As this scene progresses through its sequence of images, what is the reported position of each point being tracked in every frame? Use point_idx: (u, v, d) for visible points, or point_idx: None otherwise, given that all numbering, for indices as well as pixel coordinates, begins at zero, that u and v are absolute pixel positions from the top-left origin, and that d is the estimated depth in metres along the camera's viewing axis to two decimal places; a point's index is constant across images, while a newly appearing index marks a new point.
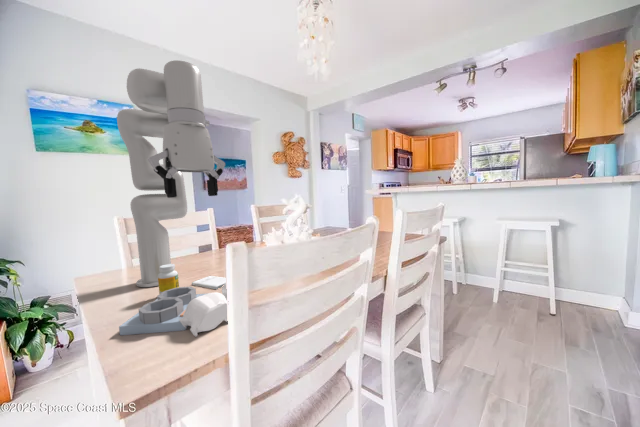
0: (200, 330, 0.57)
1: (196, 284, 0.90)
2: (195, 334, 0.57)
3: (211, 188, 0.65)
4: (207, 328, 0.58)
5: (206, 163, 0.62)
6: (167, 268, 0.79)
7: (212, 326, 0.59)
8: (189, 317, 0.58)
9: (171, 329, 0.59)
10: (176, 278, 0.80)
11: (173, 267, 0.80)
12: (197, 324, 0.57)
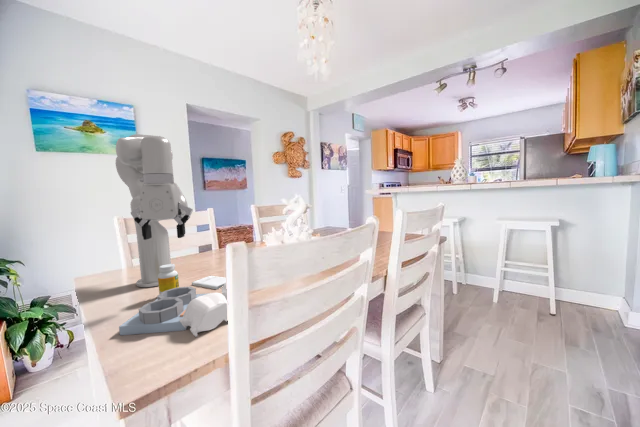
0: (200, 330, 0.57)
1: (196, 284, 0.90)
2: (195, 334, 0.57)
3: (149, 232, 0.80)
4: (207, 328, 0.58)
5: None
6: (167, 268, 0.79)
7: (212, 326, 0.59)
8: (189, 317, 0.58)
9: (171, 329, 0.59)
10: (176, 278, 0.80)
11: (173, 267, 0.80)
12: (197, 324, 0.57)
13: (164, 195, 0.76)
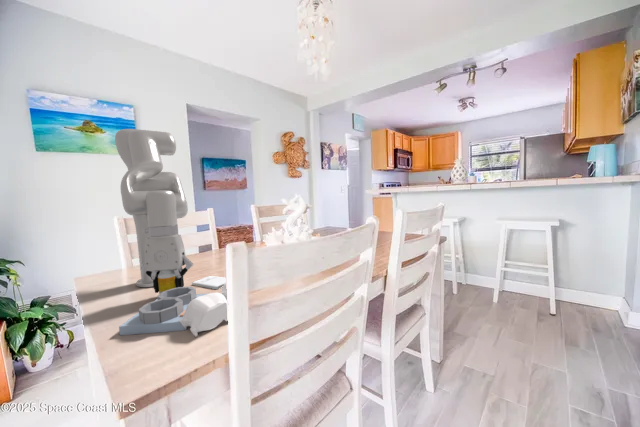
0: (200, 329, 0.57)
1: (196, 284, 0.90)
2: (195, 334, 0.57)
3: None
4: (207, 328, 0.58)
5: None
6: None
7: (212, 326, 0.59)
8: (189, 317, 0.58)
9: (171, 329, 0.59)
10: None
11: None
12: (197, 324, 0.57)
13: (169, 247, 0.77)
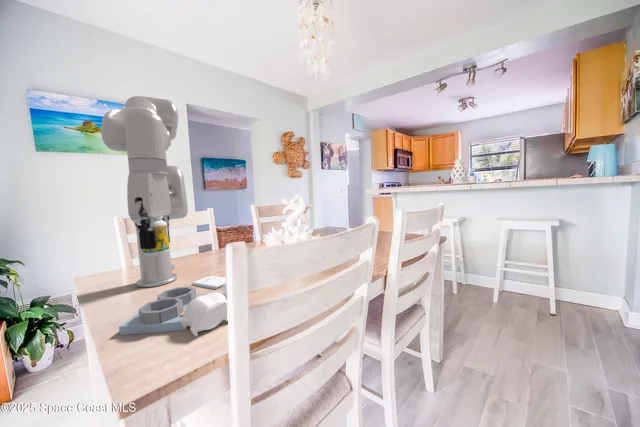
0: (200, 329, 0.57)
1: (196, 284, 0.90)
2: (195, 333, 0.57)
3: None
4: (207, 327, 0.58)
5: (167, 209, 0.65)
6: None
7: (212, 325, 0.59)
8: (189, 316, 0.58)
9: (171, 329, 0.59)
10: None
11: (146, 216, 0.60)
12: (197, 323, 0.57)
13: None
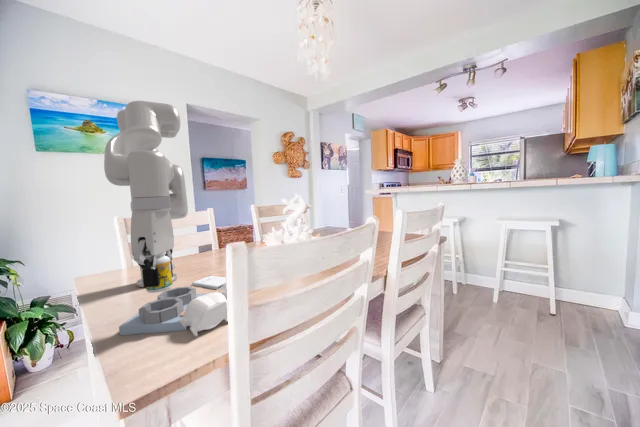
0: (200, 329, 0.57)
1: (196, 284, 0.90)
2: (195, 333, 0.57)
3: None
4: (207, 327, 0.58)
5: (170, 243, 0.65)
6: None
7: (212, 325, 0.59)
8: (189, 316, 0.58)
9: (171, 329, 0.59)
10: None
11: (149, 253, 0.60)
12: (197, 323, 0.57)
13: None
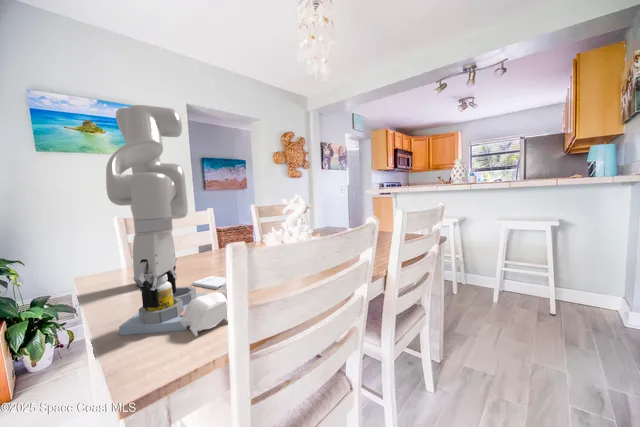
0: (200, 328, 0.57)
1: (197, 284, 0.90)
2: (195, 332, 0.57)
3: None
4: (207, 327, 0.58)
5: (172, 263, 0.65)
6: None
7: (212, 324, 0.59)
8: (189, 316, 0.58)
9: (171, 329, 0.59)
10: None
11: None
12: (197, 322, 0.57)
13: None
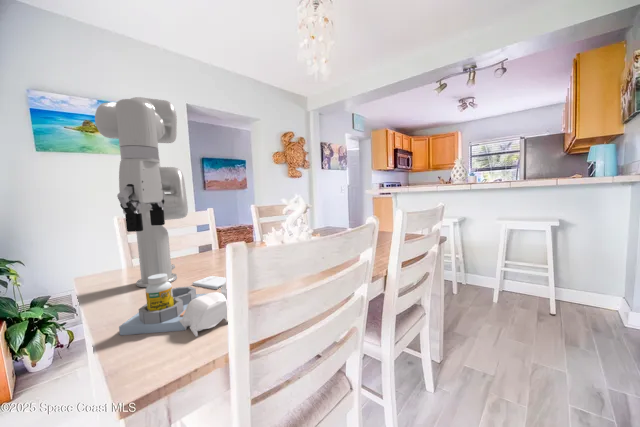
0: (200, 328, 0.57)
1: (197, 284, 0.90)
2: (195, 332, 0.57)
3: (157, 218, 0.68)
4: (207, 326, 0.58)
5: (159, 196, 0.66)
6: None
7: (212, 324, 0.59)
8: (189, 316, 0.58)
9: (171, 329, 0.59)
10: (151, 296, 0.60)
11: (151, 281, 0.61)
12: (197, 322, 0.57)
13: None
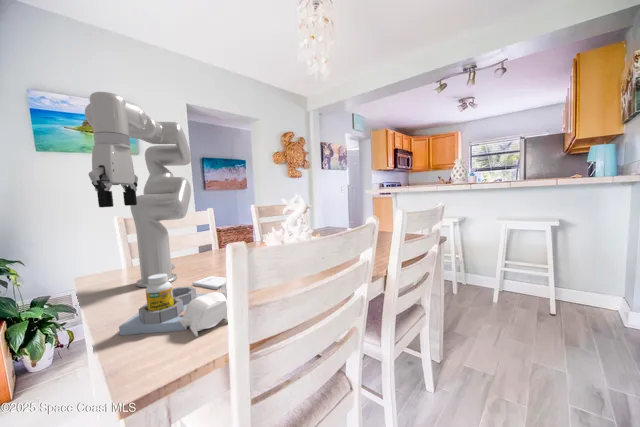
0: (200, 327, 0.57)
1: (197, 284, 0.90)
2: (195, 332, 0.57)
3: (130, 199, 0.77)
4: (207, 326, 0.58)
5: (130, 178, 0.74)
6: None
7: (212, 324, 0.59)
8: (189, 315, 0.58)
9: (171, 329, 0.59)
10: (151, 296, 0.60)
11: (151, 281, 0.61)
12: (197, 322, 0.57)
13: None
